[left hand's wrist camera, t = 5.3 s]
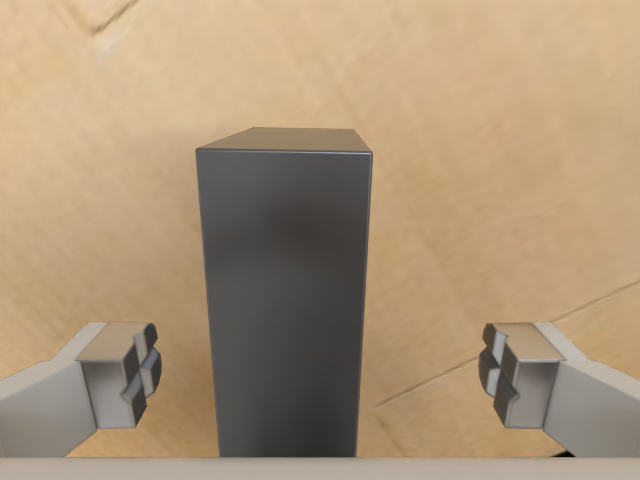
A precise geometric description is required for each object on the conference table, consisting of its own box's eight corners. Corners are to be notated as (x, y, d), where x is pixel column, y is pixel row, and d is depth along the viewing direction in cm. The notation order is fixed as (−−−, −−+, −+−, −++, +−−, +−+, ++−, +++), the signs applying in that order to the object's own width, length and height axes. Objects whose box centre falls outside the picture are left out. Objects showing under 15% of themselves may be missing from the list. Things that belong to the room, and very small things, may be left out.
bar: (252, 127, 21) (194, 148, 12) (354, 128, 21) (373, 151, 12) (266, 529, 30) (239, 713, 21) (338, 531, 30) (341, 717, 21)
